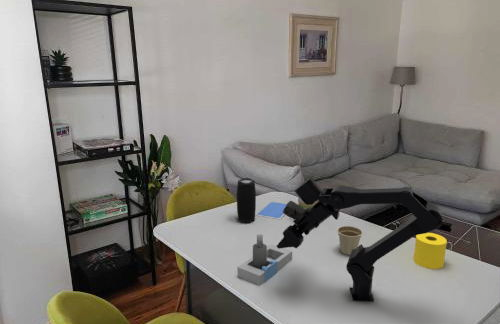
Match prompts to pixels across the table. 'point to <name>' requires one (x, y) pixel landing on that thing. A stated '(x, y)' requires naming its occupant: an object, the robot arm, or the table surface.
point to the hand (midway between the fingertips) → (282, 241)
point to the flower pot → (349, 238)
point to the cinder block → (267, 272)
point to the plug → (259, 253)
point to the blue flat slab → (272, 211)
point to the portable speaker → (246, 200)
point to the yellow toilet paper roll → (430, 250)
